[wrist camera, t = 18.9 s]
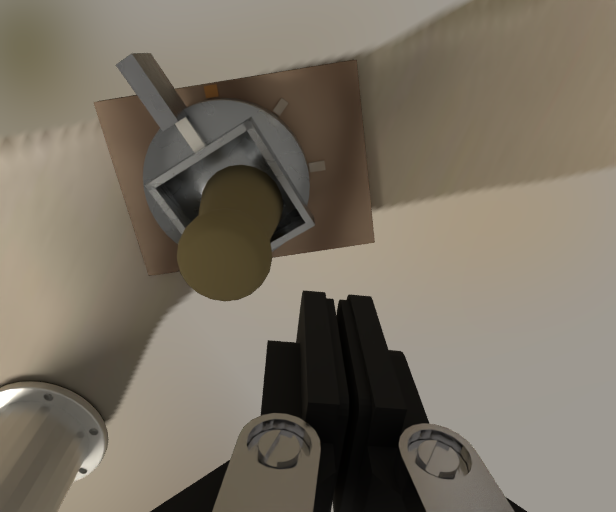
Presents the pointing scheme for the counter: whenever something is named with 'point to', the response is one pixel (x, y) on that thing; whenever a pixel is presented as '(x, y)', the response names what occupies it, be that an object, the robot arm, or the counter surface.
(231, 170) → the cork
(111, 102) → the board
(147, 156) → the grey handled box
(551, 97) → the counter surface
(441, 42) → the counter surface
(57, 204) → the counter surface
